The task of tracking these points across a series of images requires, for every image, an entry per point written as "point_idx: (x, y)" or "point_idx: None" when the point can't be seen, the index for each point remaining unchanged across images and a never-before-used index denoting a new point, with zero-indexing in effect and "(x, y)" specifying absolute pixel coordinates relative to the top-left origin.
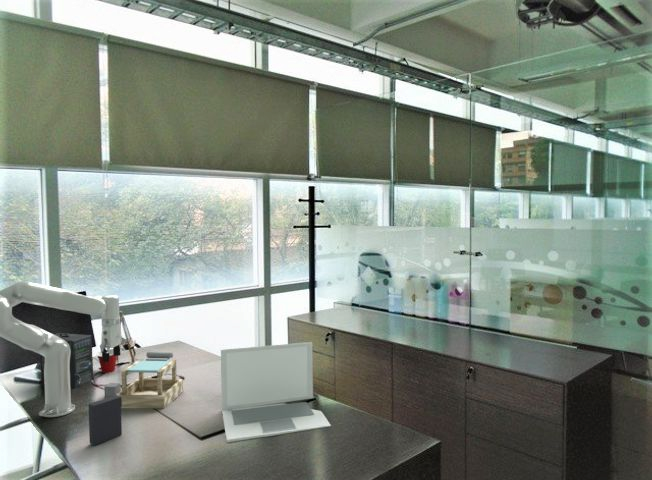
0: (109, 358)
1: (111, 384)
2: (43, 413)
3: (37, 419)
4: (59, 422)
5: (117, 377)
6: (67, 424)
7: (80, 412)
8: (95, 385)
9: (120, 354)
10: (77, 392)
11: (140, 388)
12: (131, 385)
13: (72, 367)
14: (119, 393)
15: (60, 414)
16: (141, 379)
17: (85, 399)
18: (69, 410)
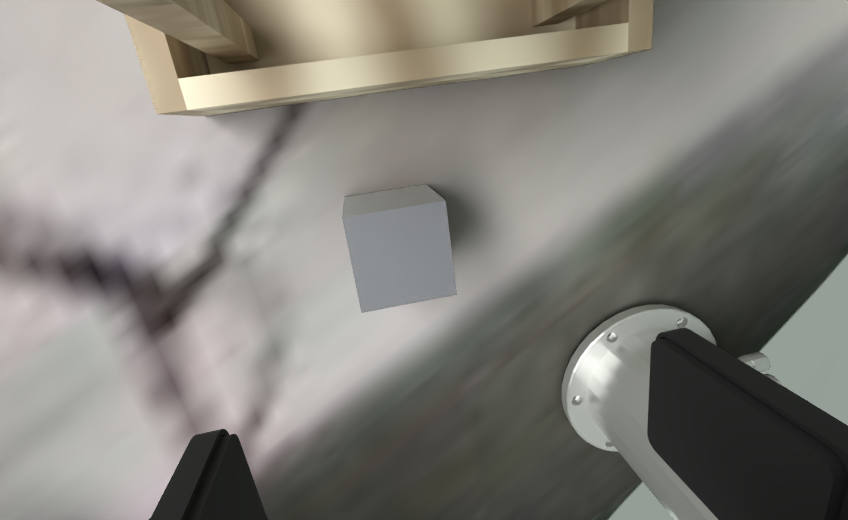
0: (713, 360)
1: (396, 272)
2: (770, 377)
3: None
4: (757, 268)
5: (17, 473)
6: (785, 208)
7: (639, 257)
8: None
9: (190, 440)
10: (367, 492)
11: (251, 43)
12: (374, 54)
13: None
14: (602, 32)
15: (702, 323)
16: (220, 5)
17: (457, 372)
18: (666, 312)
